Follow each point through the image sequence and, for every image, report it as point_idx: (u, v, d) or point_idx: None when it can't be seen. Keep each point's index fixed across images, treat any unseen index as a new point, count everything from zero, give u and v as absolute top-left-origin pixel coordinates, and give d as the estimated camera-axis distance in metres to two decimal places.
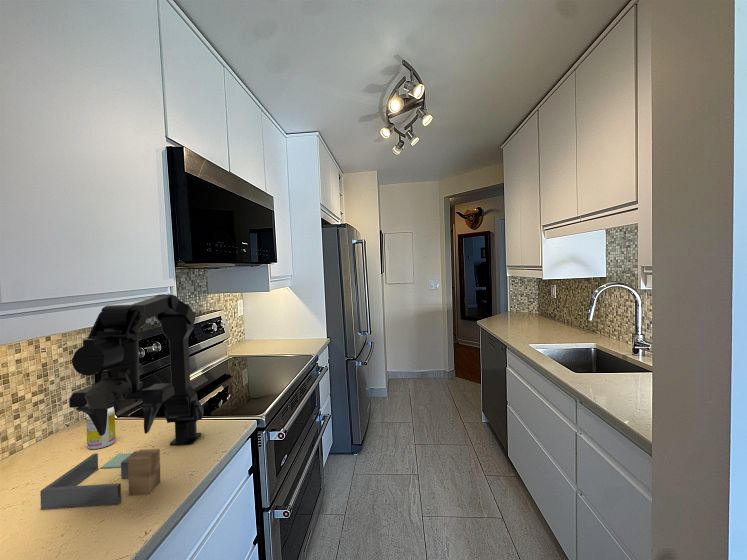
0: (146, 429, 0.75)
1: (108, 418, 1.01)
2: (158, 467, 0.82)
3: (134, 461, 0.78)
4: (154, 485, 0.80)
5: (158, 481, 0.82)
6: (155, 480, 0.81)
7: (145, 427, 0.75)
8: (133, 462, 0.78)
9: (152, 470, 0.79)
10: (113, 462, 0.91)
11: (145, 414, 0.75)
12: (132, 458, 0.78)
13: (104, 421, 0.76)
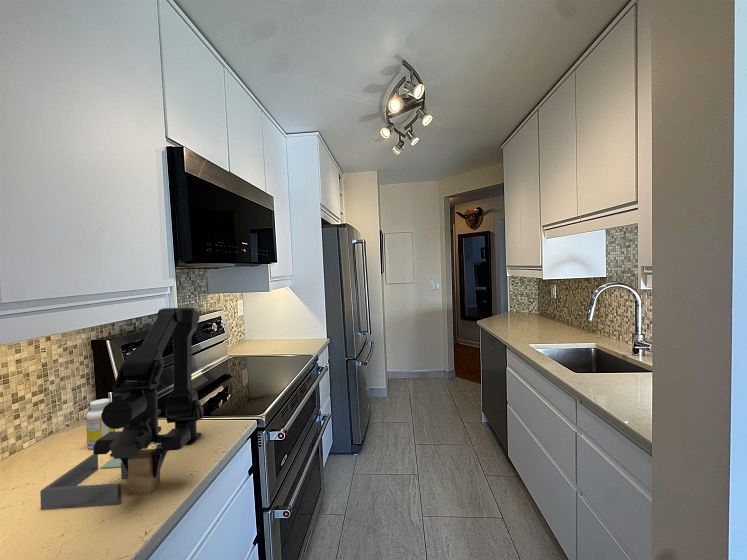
0: (155, 473, 0.80)
1: None
2: None
3: (133, 461, 0.78)
4: (154, 485, 0.80)
5: (158, 481, 0.82)
6: (155, 480, 0.81)
7: (154, 472, 0.79)
8: (133, 462, 0.78)
9: (152, 470, 0.79)
10: (113, 462, 0.91)
11: (154, 460, 0.79)
12: (132, 458, 0.78)
13: None
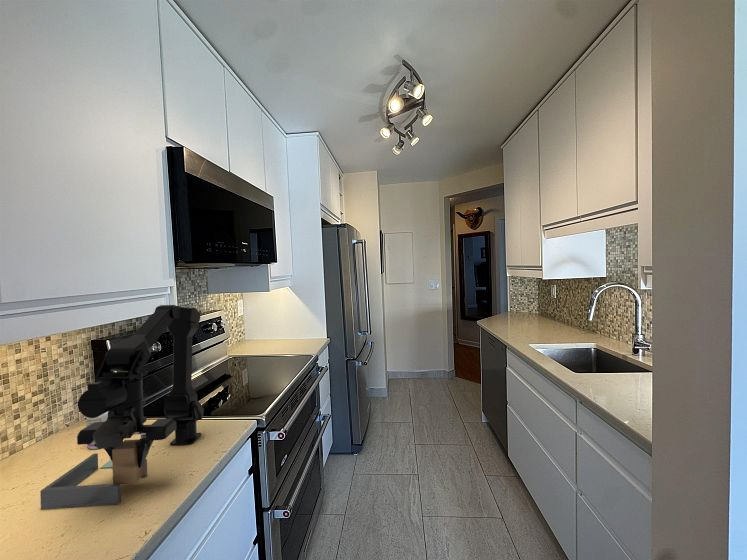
0: (139, 463, 0.79)
1: None
2: None
3: (118, 451, 0.77)
4: (139, 475, 0.80)
5: (143, 471, 0.81)
6: (140, 471, 0.80)
7: (139, 462, 0.79)
8: (117, 452, 0.77)
9: (137, 460, 0.79)
10: None
11: (139, 450, 0.79)
12: (116, 448, 0.78)
13: None
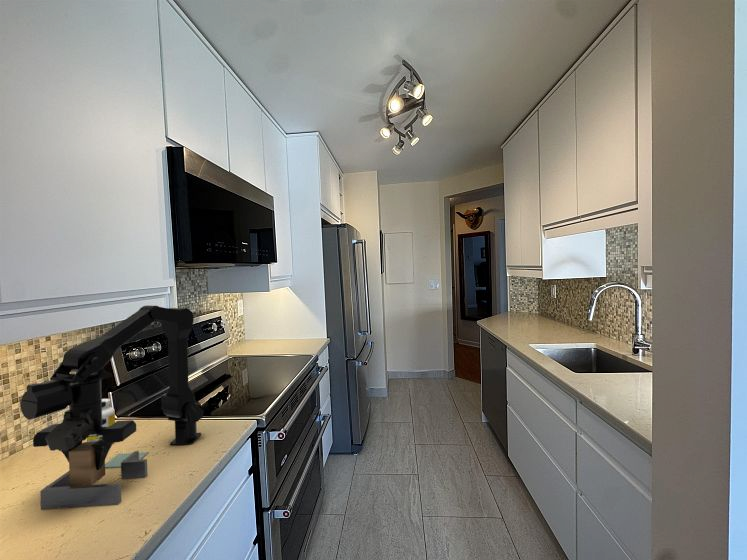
0: (98, 466, 0.79)
1: (108, 418, 1.01)
2: None
3: (75, 453, 0.77)
4: (97, 478, 0.79)
5: (102, 474, 0.81)
6: (99, 473, 0.80)
7: (97, 464, 0.79)
8: (74, 454, 0.77)
9: (94, 462, 0.78)
10: (113, 462, 0.91)
11: (96, 452, 0.78)
12: (73, 450, 0.77)
13: None
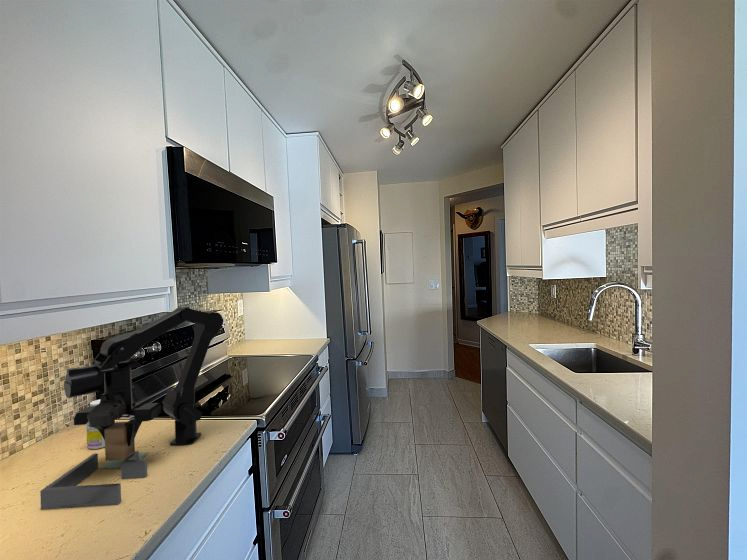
0: (129, 442, 0.90)
1: None
2: None
3: (109, 431, 0.88)
4: (128, 453, 0.90)
5: (132, 450, 0.92)
6: (130, 449, 0.91)
7: (128, 441, 0.90)
8: (109, 432, 0.88)
9: (126, 439, 0.90)
10: (113, 462, 0.91)
11: (128, 430, 0.89)
12: (108, 428, 0.88)
13: None
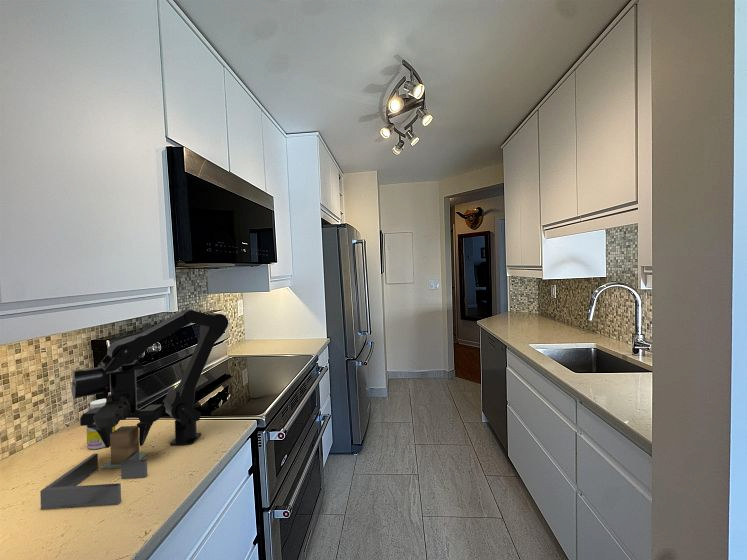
0: (141, 442, 0.92)
1: None
2: (137, 441, 0.94)
3: (115, 435, 0.90)
4: None
5: None
6: None
7: (140, 441, 0.92)
8: (114, 436, 0.90)
9: (131, 443, 0.92)
10: None
11: (140, 430, 0.92)
12: (114, 433, 0.91)
13: None
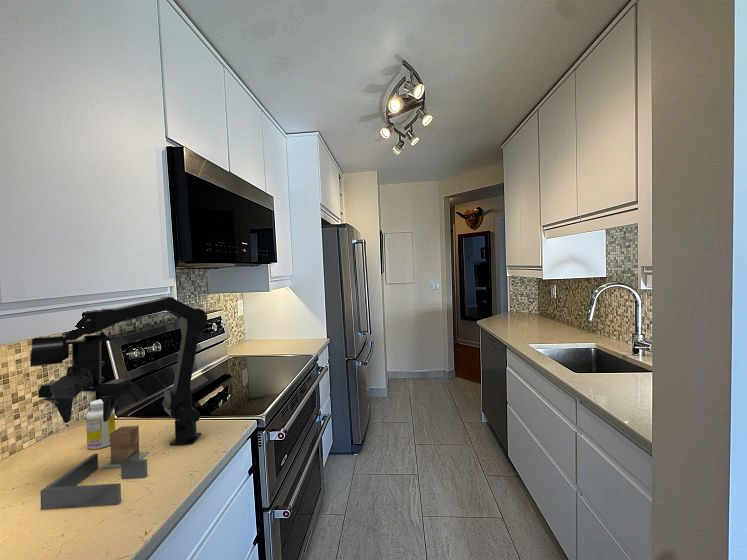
0: (105, 418, 0.87)
1: None
2: (137, 441, 0.94)
3: (115, 435, 0.90)
4: None
5: None
6: None
7: (104, 416, 0.87)
8: (114, 436, 0.90)
9: (131, 443, 0.92)
10: None
11: (104, 405, 0.87)
12: (114, 433, 0.91)
13: (69, 410, 0.88)
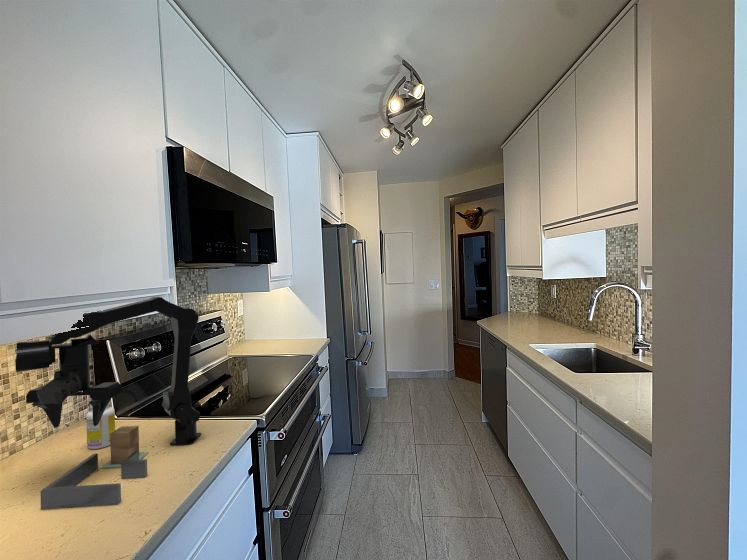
0: (94, 422, 0.86)
1: (108, 418, 1.01)
2: (137, 441, 0.94)
3: (115, 435, 0.90)
4: None
5: None
6: None
7: (94, 420, 0.86)
8: (114, 436, 0.90)
9: (131, 443, 0.92)
10: None
11: (93, 409, 0.85)
12: (114, 433, 0.91)
13: (59, 415, 0.87)
